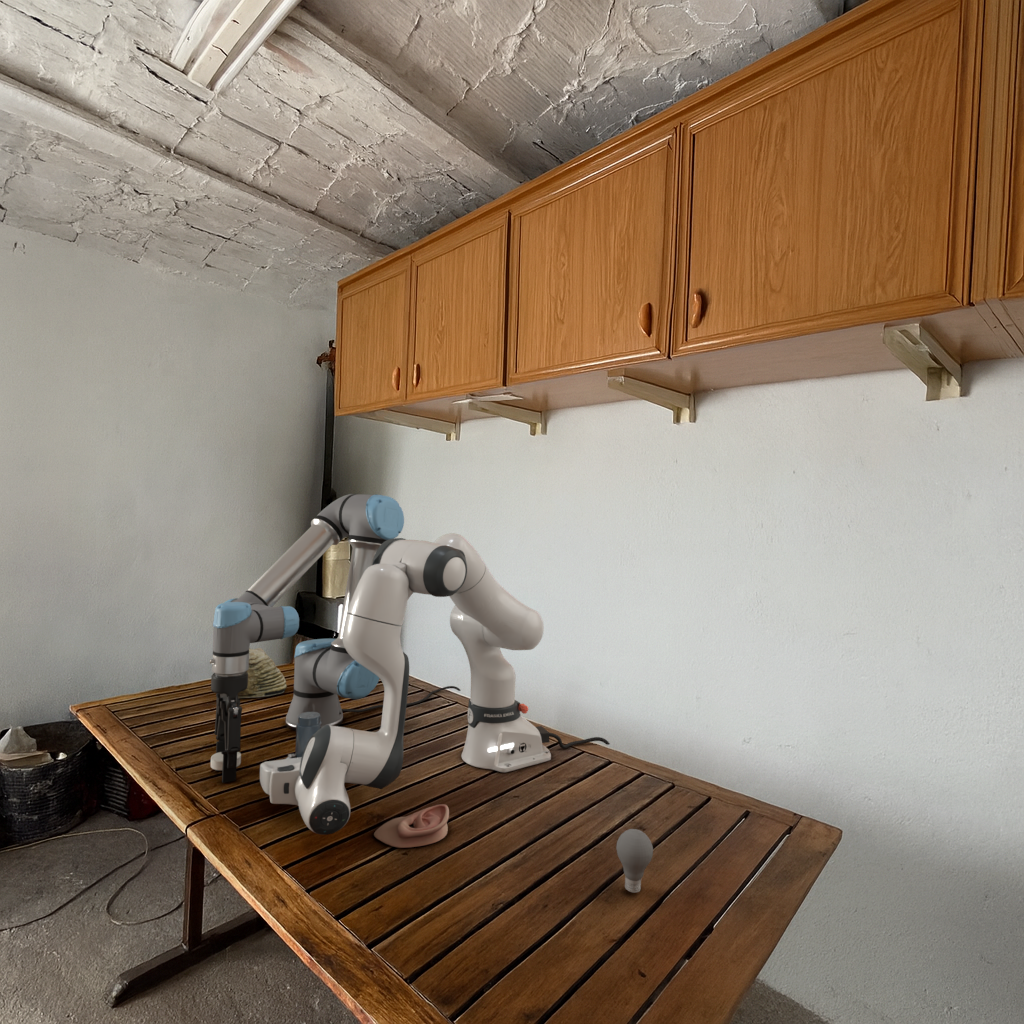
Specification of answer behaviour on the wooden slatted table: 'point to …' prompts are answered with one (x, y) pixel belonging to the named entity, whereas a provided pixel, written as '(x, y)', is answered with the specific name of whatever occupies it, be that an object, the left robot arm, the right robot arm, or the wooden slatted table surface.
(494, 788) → the wooden slatted table surface
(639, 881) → the light bulb
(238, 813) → the wooden slatted table surface
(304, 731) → the jar
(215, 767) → the lid
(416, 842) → the anatomical model
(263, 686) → the fossil
